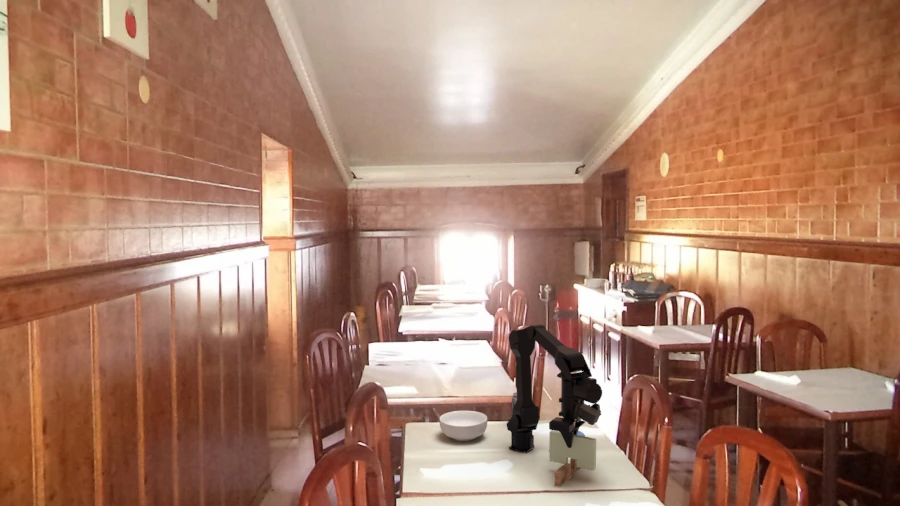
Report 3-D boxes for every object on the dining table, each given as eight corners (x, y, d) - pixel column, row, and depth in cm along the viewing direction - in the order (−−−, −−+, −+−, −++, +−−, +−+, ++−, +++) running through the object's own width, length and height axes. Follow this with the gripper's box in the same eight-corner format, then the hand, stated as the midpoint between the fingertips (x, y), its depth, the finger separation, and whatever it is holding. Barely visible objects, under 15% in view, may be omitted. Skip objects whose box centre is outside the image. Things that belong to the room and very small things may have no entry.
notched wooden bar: (559, 486, 186) (559, 473, 185) (554, 485, 186) (554, 472, 186) (585, 464, 202) (585, 451, 202) (580, 463, 203) (580, 450, 203)
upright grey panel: (549, 461, 197) (549, 431, 197) (551, 459, 198) (551, 430, 198) (594, 470, 190) (594, 440, 189) (595, 468, 191) (596, 438, 190)
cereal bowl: (443, 428, 237) (443, 409, 236) (489, 430, 235) (489, 411, 234) (435, 444, 220) (435, 424, 220) (485, 447, 218) (485, 426, 217)
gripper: (585, 407, 181) (585, 462, 182) (608, 391, 197) (607, 442, 197) (548, 401, 187) (548, 454, 188) (573, 386, 203) (572, 435, 203)
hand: (570, 446), depth 194 cm, fingers closed on upright grey panel, 2 cm apart
